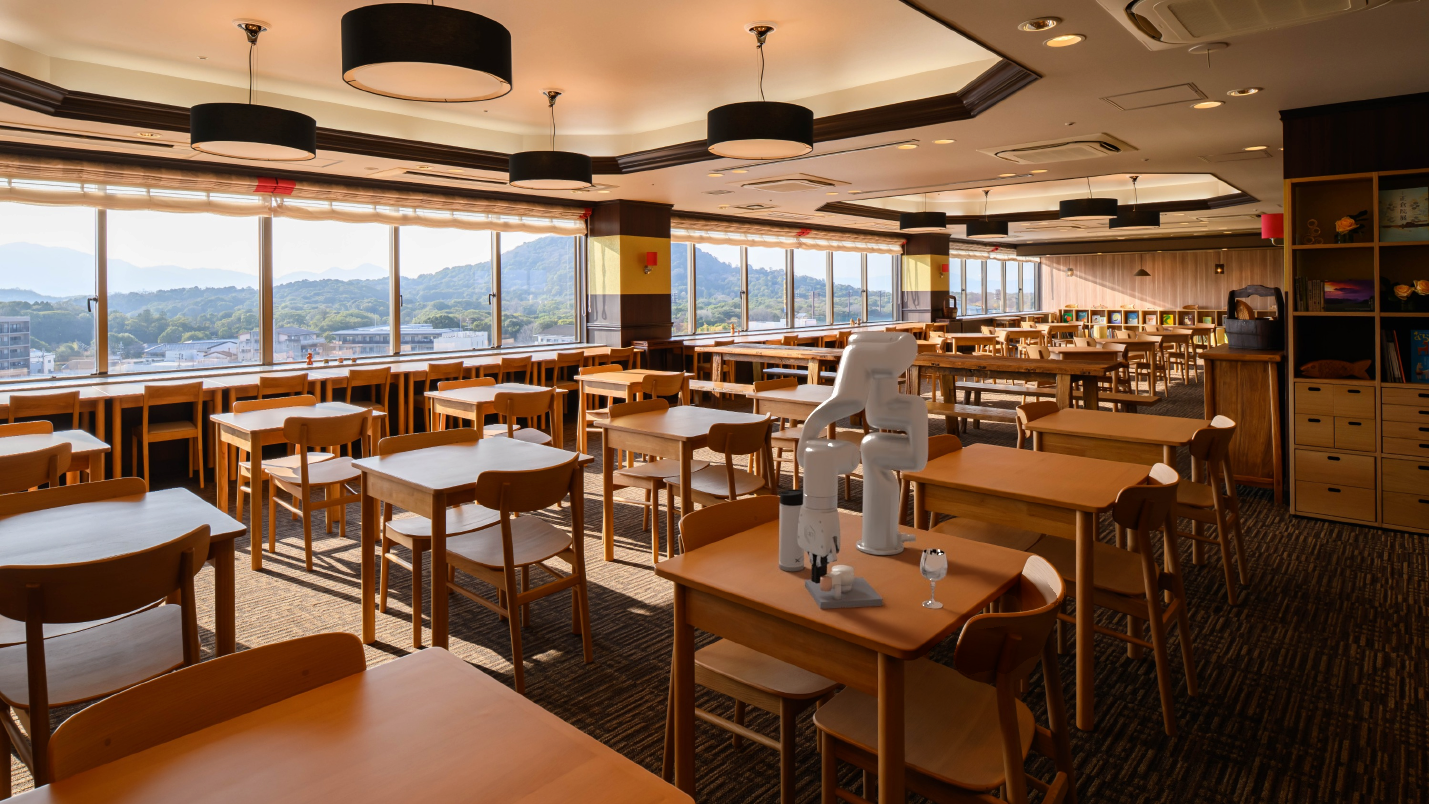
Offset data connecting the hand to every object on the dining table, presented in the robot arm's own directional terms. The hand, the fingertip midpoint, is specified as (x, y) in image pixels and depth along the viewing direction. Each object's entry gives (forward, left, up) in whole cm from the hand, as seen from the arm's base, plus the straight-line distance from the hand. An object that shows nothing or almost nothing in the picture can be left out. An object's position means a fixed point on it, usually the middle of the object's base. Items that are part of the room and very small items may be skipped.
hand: (819, 581), depth 176 cm
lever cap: (-4, +1, -1) cm, 4 cm away
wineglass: (-24, +6, -4) cm, 25 cm away
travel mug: (+1, -22, -4) cm, 22 cm away
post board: (-6, -2, -4) cm, 7 cm away
